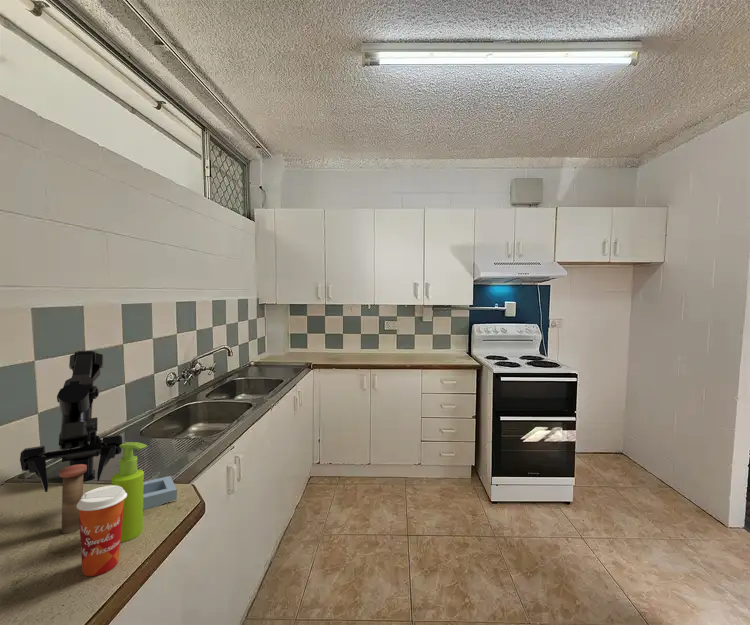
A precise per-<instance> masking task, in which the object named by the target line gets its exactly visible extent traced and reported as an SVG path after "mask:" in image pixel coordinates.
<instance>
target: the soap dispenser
mask: <svg viewBox="0 0 750 625" xmlns="http://www.w3.org/2000/svg"><path fill="white" fill-rule="evenodd" d="M146 447H148V445H147V444H145V443H142V442H136V441H128V442H127V441H126V442H124V443H122V444H121V445H120V448H123V457H121V458H119V461H118V472H117V473H115V474H114V475H112V477H111V486H112V485H116V486H120V487H122V488H123V489H124V490H125V493H127V497H126V498H125V499H124V507H123V519H122V531H121V542H120V543H123V541H125V542H128V541H131V540H134V539H136V538H137V537H139V536H140V535H141V534H142V533H143V530H144V526H143V524H144V510H143V487H144V482H145V481H144V477H145V471H144V470H143V469H138V456H137V455H134V450H138V451H141V450H142V449H145V448H146ZM135 537H136V538H135ZM133 538H134V539H133ZM130 539H131V540H130Z"/></svg>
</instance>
